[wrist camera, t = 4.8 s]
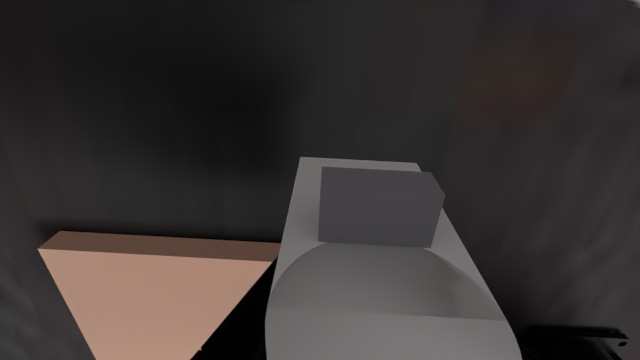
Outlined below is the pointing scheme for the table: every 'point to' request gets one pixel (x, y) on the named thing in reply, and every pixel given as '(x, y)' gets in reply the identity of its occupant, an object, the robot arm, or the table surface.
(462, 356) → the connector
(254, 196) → the table surface
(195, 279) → the terracotta tile
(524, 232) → the table surface
